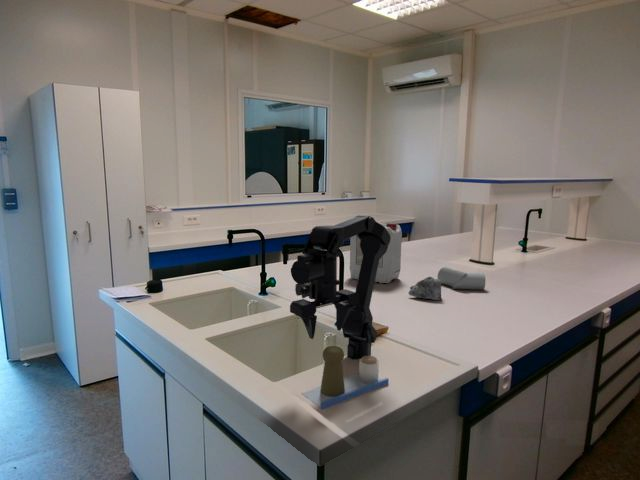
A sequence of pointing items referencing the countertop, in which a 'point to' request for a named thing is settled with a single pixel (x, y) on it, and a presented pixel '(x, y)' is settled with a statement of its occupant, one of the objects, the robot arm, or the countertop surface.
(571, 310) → the countertop surface
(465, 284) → the bent grey cylinder
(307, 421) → the countertop surface
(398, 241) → the jerry can
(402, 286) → the countertop surface
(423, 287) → the mineral rock
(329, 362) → the olive waisted cylinder
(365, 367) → the ceramic jar
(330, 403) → the shelf
